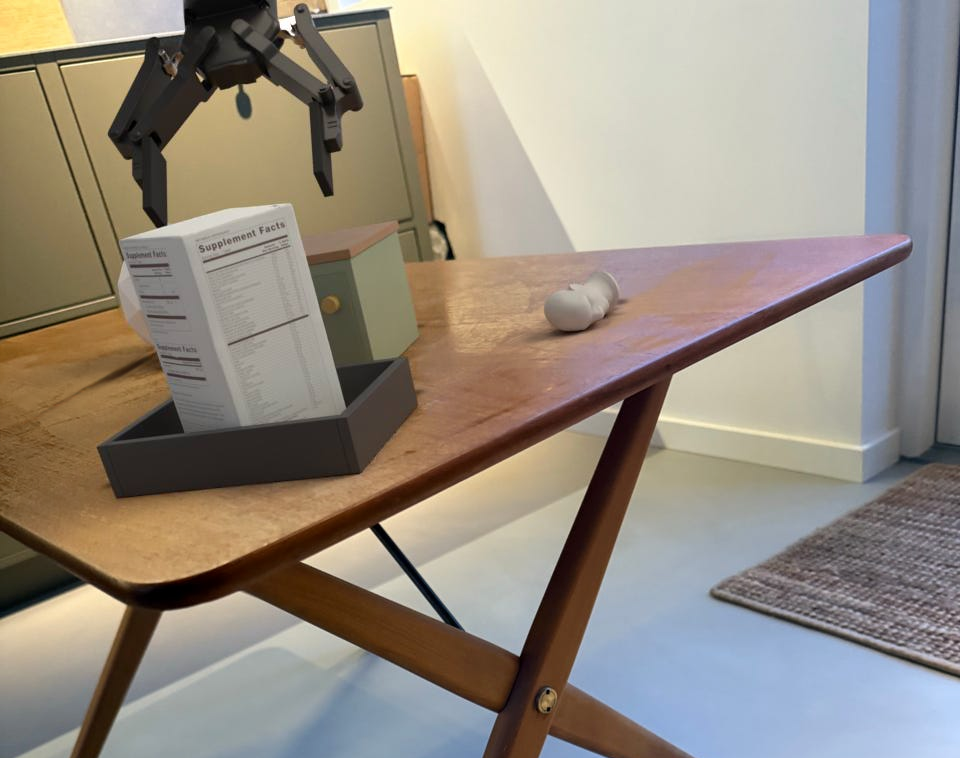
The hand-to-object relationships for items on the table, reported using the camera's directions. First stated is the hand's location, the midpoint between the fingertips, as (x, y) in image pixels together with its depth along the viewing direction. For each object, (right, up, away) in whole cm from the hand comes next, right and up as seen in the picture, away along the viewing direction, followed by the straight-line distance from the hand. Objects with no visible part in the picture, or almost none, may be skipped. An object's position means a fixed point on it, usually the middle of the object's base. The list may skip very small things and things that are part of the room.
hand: (238, 202), depth 79 cm
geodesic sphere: (-14, 0, +40) cm, 42 cm away
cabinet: (+5, -7, +22) cm, 23 cm away
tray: (+3, -19, 0) cm, 19 cm away
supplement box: (+3, -19, 0) cm, 19 cm away
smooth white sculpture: (+29, -4, +17) cm, 34 cm away
